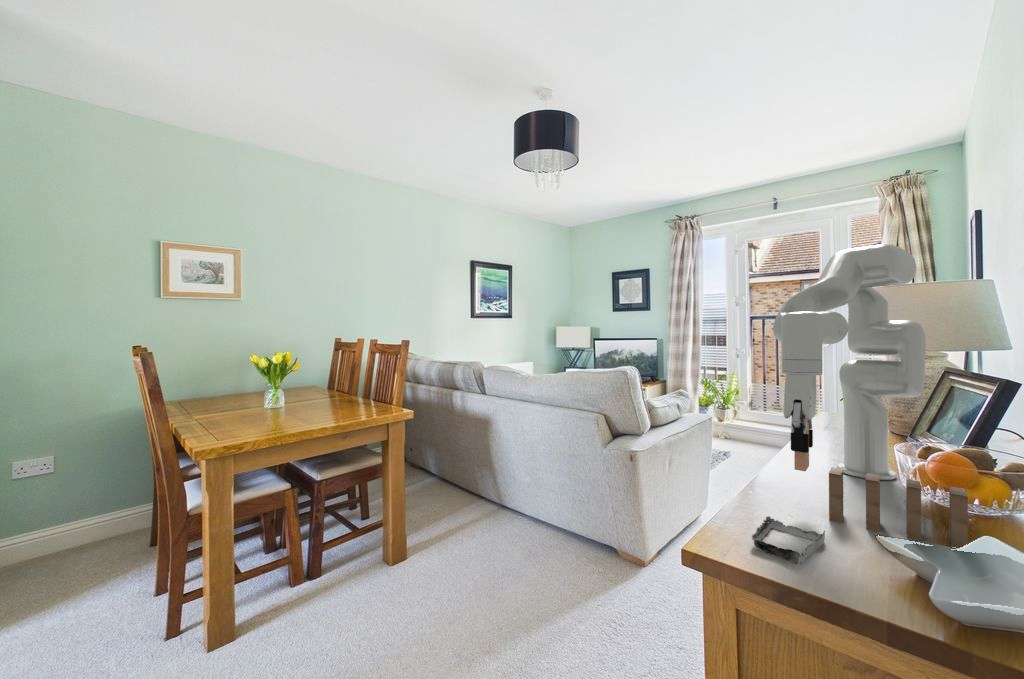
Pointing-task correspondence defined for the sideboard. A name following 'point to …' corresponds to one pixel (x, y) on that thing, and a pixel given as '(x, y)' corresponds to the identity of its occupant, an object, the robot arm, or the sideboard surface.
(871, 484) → the domino
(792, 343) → the robot arm
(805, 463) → the domino
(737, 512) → the sideboard surface
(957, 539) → the domino
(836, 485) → the domino
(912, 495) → the domino
